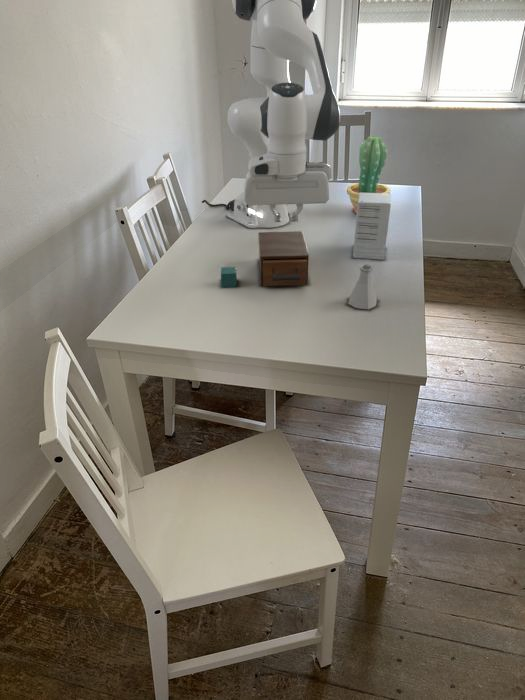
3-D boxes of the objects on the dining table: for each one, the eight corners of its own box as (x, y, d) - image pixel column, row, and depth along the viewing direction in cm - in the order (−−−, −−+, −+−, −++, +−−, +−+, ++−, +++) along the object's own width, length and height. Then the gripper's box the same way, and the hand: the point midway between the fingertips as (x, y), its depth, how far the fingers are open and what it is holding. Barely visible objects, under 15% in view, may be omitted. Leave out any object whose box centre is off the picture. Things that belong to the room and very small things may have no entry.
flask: (370, 312, 130) (374, 276, 124) (343, 305, 133) (346, 269, 127) (381, 300, 135) (385, 264, 129) (355, 293, 138) (358, 258, 132)
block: (221, 287, 142) (220, 273, 140) (222, 280, 145) (221, 267, 143) (236, 286, 142) (235, 273, 140) (236, 280, 145) (236, 266, 143)
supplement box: (384, 260, 154) (391, 203, 145) (352, 258, 156) (357, 202, 146) (384, 247, 162) (391, 192, 153) (354, 245, 164) (359, 191, 154)
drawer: (308, 294, 136) (309, 270, 132) (264, 296, 135) (263, 272, 132) (300, 260, 153) (301, 238, 149) (261, 261, 153) (261, 239, 149)
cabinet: (307, 284, 142) (308, 255, 137) (260, 286, 142) (260, 256, 137) (301, 258, 156) (302, 231, 151) (259, 260, 156) (258, 232, 151)
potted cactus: (392, 207, 192) (402, 134, 178) (382, 221, 180) (391, 144, 166) (351, 201, 197) (357, 130, 183) (338, 215, 186) (344, 140, 172)
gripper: (329, 158, 124) (326, 215, 132) (242, 160, 124) (244, 217, 131) (333, 165, 119) (330, 224, 127) (242, 167, 118) (244, 226, 126)
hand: (285, 221), depth 129 cm, fingers open, 3 cm apart
